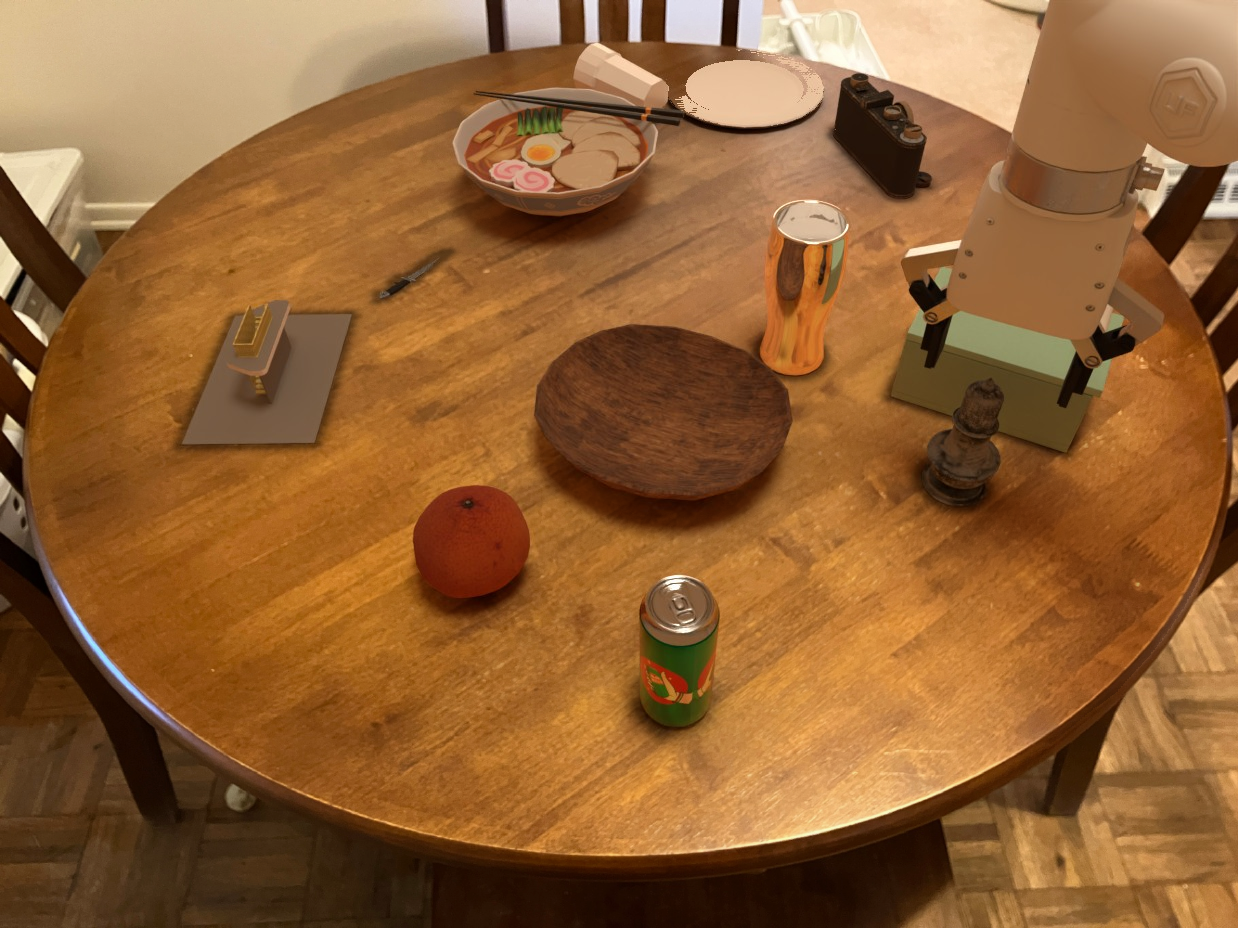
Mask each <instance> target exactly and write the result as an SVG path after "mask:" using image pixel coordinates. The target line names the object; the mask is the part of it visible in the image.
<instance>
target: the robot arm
mask: <svg viewBox="0 0 1238 928" xmlns="http://www.w3.org/2000/svg"><path fill="white" fill-rule="evenodd" d="M1037 39H1038V40H1037V43H1036V46H1035V49H1034V54H1033V57H1032V60H1031V63H1030V67H1029V70H1028V73H1027V78H1026V82H1025V85H1024V89H1023V93H1022V95H1021V96H1022V97H1021V100H1020V103H1019V106H1018V110H1017V114H1016V118H1015V122H1014V125H1013V128H1012V131H1011V135H1010V138H1009V142H1008V146H1007V149H1006V152H1005V156H1004V159H1003V160H1000V161H997V162H996V163H995V164H993V166H992V167H991V169H990V170H989V172H988V174H987V176H986V178H985V180H984V182H983V184H982V186H981V188H980V191H979V193H978V194H977V197H976V199H975V202H974V204H973V207H972V210H971V212H970V215H969V217H968V220H967V223H966V226H965V229H964V231H963V235H962V236H961V237H962V238H961V239H959V240H952V241H945V242H942V243H935V244H929V245H925V246H919V247H912V248H909V249H907V250H906V251H905V252H904V255H903V257H902V259H901V260H900V266H901V268H902V272H903V273H904V277H905V280H906V283H907V284H908V293H909V295H910V296H911V298H912V299H913V300H914V301H915V303H916V304H917V306H918V307H919V309H920V308H921V310H922V311H923V312H924V314H923V319H924V321H925V322H926V323H927V324H926V328H925V332H924V336H923V340H922V344H921V348H920V349H922V350H925V351H928V353H927V357H926V361H925V365H924V367H925V368H929V369H931V368H934V367H935V365H936V363H937V361H938V359H939V357H940V354H941V352H942V350H943V348H944V345H945V341H946V338H947V334H948V330H949V327H950V323H951V320H952V316H953V314H955V313H957V312H959V311H963V312H966V313H969V314H972V315H976V316H979V317H983V318H986V319H990V320H994V321H997V322H1001V323H1005V324H1008V325H1012V326H1016V327H1020V328H1023V329H1027V330H1031V331H1035V332H1039V333H1042V334H1046V335H1050V336H1054V337H1058V338H1063V339H1069V340H1070V341H1071V343H1072V344H1073V346H1074V348H1075V350H1076V352H1075V355H1074V357H1073V360H1072V362H1071V365H1070V367H1069V370H1068V372H1067V375H1066V377H1065V380H1064V382H1063V385H1062V388H1061V391H1060V394H1059V397H1058V401H1057V404H1059V407H1063V408H1066V407H1067V405H1068V403H1069V400H1070V398H1071V396H1072V393H1076V394H1079V395H1083V393H1084V390H1085V388H1086V386H1087V383H1088V381H1089V379H1090V376H1091V374H1092V372H1093V369H1094V368H1098V367H1099V366H1101V364H1102V362H1103V361H1106V360H1109V359H1112V360H1113V359H1115V358H1117V357H1120V356H1123V355H1126V354H1127V355H1128V354H1130V353H1131V352H1133V351H1134V349H1135V348H1136V347H1137V346H1139V344H1142V343H1144V342H1145V341H1147V340H1148V339H1150V338H1152V336H1154V335H1156V334H1157V333H1158V332H1160V331H1161V330H1162V327H1163V324H1164V320H1165V319H1164V318H1165V313H1164V312H1163V311H1162V310H1161V309H1159V308H1158V307H1157V306H1155V305H1154V304H1153V303H1151V301H1149V300H1148V299H1146V298H1145V297H1144V296H1143V295H1141V294H1140V293H1139V292H1138V291H1136V290H1135V289H1133V287H1131V286H1130V285H1128V284H1127V283H1126V282H1124V281H1123V280H1122V279H1120V278H1119V274H1120V271H1121V268H1122V265H1123V262H1124V259H1125V256H1126V254H1127V251H1128V248H1129V244H1130V241H1131V237H1132V233H1133V230H1134V227H1135V226H1134V225H1135V222H1136V216H1137V211H1138V205H1139V204H1138V203H1139V193H1138V191H1143V190H1144V189H1145V190H1150V191H1155V192H1157V191H1158V188H1159V186H1160V184H1161V181H1162V179H1163V176H1164V174H1165V171H1166V169H1165V168H1163V167H1158V166H1153V163H1151V162H1147V159H1148V156H1145V155H1144V153H1145V151H1146V149H1147V145H1149V146H1150V147H1152V148H1153V149H1155V150H1156V151H1157V152H1159V153H1161V154H1163V155H1164V156H1166V157H1168V158H1170V159H1171V160H1174V161H1176V162H1179V163H1181V164H1185V165H1188V166H1192V167H1201V168H1204V167H1205V168H1212V167H1213V168H1214V167H1220V166H1225V165H1230V164H1232V163H1237V162H1238V0H1048V4H1047V8H1046V10H1045V14H1044V18H1043V21H1042V25H1041V29H1040V32H1039V36H1038V38H1037ZM949 266H952V268H951V269H952V271H951V275H950V279H949V282H948V285H946V286H944V287H943V288H941V289H940V288H939V287H938V286H937V284H936V283H935V281H934V279H933V277H932V276H931V275H930V274H929V273H928V272H929V271H928V270H932V269H938V268H940V267H949ZM1107 304H1108V305H1110V306H1111V307H1112V308H1114V309H1113V310H1114V311H1116V312H1117V313H1118V314H1119V315H1122V316H1124V319H1127V320H1128V321H1129V323H1128V324H1125V325H1122V327H1119V328H1116V329H1114V330H1111V331H1108V332H1105V330H1104V328H1103V326H1102V324H1101V322H1100V320H1101V318H1102V316H1103V314H1104V312H1105V309H1106V307H1107Z"/></svg>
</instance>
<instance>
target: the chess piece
mask: <svg viewBox="0 0 1238 928" xmlns="http://www.w3.org/2000/svg"><path fill="white" fill-rule="evenodd" d="M1003 402H1004V394H1003V391H1002V390H1001V388H1000V387H999V386H998V385H996V384H995V383H994V381H993V379H992V378H988V379H986V380H980V381H976V382H974V383H972V384H970V385H969V386H968V388H967V390H966V392H965V395H964V398H963V401H962V404H961V407H959V408H957V409H956V410H955V411H954V413H953V415H952V416H951V421H952V424H953V425H952V428H948V429H947V428H946V429H942V430H940V431H938V432H937V433H935V434H933V436H932V437H931V438H930V439H929V441H928V442H927V445H926V455H927V458H928V464H927V465H926V466H925V467H924V469H923V470H922V473H921V483H922V486H923V488H924V490H925V492H927V494H928V495H929V496H930V497H932V498H933V499H934V500H936V501H938V502H939V503H941V504H945V505H948V506H951V507H957V508H959V507H969V506H972V505H975V504H977V503H979V502H980V501H981V500H982V499H983V497H984V496H985V494H986V491H987V481H988V480H989V479H990V478H992V477H994V476H995V475H996V474H997V472H998V471H999V470H1000V467H1001V464H1002V456H1001V453H1000V451H999V449H998V448H997V446H996V445H995V444H994V442H993V441H992V440H991V438H992V437H993V436H994V435H996V434H997V433H998V432H999V431H998V429H999V421H998V419H997V417H998V415H999V412H1000V410H1001V407H1002V404H1003Z"/></svg>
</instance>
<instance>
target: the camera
mask: <svg viewBox="0 0 1238 928" xmlns="http://www.w3.org/2000/svg"><path fill="white" fill-rule="evenodd" d="M869 79H870V78H869V75H867V74H866V73H861V72H856V73H853V74H852V75H851V76H848V77H845V78H843V79H842V80H841V81H840V89H839V94H838V102H837V106H836V107H837V108H836V115H835V121H834V127H835V128H834V127H833V131H832V135H833V137H834V138H835V139H836V141H838V143H839V144H840V145H841V146H842V147H843V148H844V149H845V150H846V151H847V152H848V153H849V154H850V155H851V157H852V158H854V159H855V161H856V162H857V163H858V165H860V166H861V167H862V168H863V169H864V171H865V172H867V174H868V175H869V176H870V177H871V178H872V179H873V181H875V182H876V184H877V185H879V187H881V189H882V190H883V191H884V192H885V193H886V194H887V195H888V196H890V197H892V198H895V199H908V198H911V197H912V196H914V194H915V192H916V187H917V188H926V187H928V186H930V184H931V182H932V181H933V176H932V175H931V174H930V173H928V172H926V171H922V170H921V171H920V169H921V164H922V161H923V156H924V151H925V147H926V144H927V141H928V138H927V136H926V134H925V133H924V132H923V127H922V126H921V125H919V124H917V123H915V118H914V116H915V115H914V113H913V109H912V107H911V106H910V103H908V102H907V101H905V100H900V101H896V102H894V99H895V94H894V93H892V91H890V90H889V89H886V90H883V91H879V90H878V89H877V88H876V87H875V86H874V85H873V84H872V83H870V81H869ZM835 129H836V130H835Z"/></svg>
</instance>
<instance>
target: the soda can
mask: <svg viewBox="0 0 1238 928" xmlns="http://www.w3.org/2000/svg"><path fill="white" fill-rule="evenodd" d="M638 615H639V616H638V621H639V622H638V623H639V624H638V627H639V628H638V631H639V632H638V633H639V639H638V640H639V641H638V642H639V644H638V645H639V648H638V649H639V650H638V651H639V652H638V653H639V701H640V703H641V707H642V708H643V710H644V711H645V713H646V714H647V716H649V717H650V718H651V719H652V720H654V721H655V723H658V724H660V725H664V726H666V727H671V728H672V727H673V728H681V727H687V726H690V725H693V724H694V723H696V722H698V721H699V720H701V719H702V718H703V717H704V716H705V714H706V713H707V711H709V708H710V705H711V702H712V696H713V695H712V694H713V686H714V677H715V676H714V675H715V667H716V657H717V647H718V639H719V638H718V637H719V629H720V619H721V611H720V607H719V604H718V601H717V599H716V598H715V596H714V595H713V593H712V592H711V590H710V588H709V587H708V586H707V585H706V584H705V583H704V582H703V581H701V580H699V579H697V578H695V577H692V576H689V575H684V574H675V575H674V574H673V575H668V576H665V577H663V578H661V579H659V580H657V581H656V582H655V583H653V585H652V586H651V587H650V588H649V589H648V591H647V592H646V593H645V595H644V597H643V598H642V600H641V602H640V605H639V609H638Z"/></svg>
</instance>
